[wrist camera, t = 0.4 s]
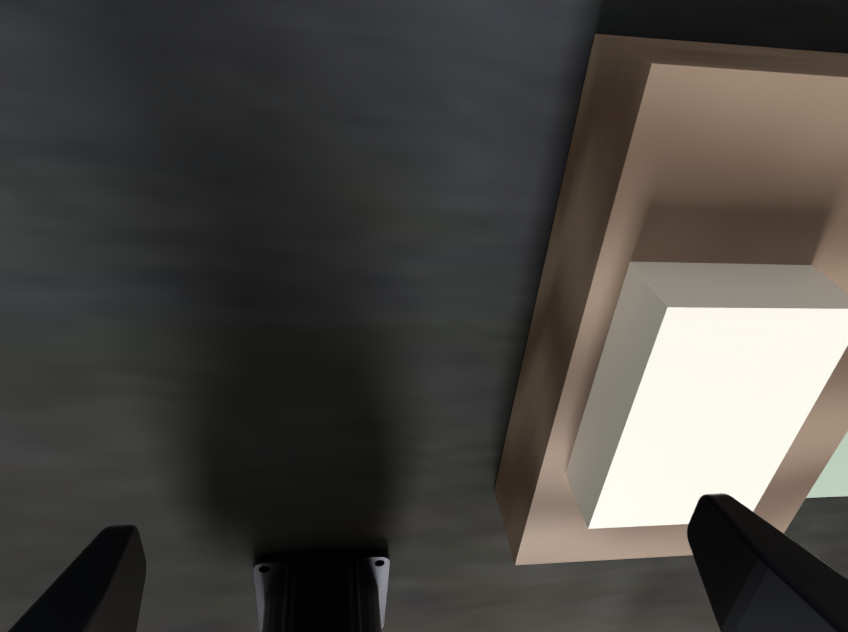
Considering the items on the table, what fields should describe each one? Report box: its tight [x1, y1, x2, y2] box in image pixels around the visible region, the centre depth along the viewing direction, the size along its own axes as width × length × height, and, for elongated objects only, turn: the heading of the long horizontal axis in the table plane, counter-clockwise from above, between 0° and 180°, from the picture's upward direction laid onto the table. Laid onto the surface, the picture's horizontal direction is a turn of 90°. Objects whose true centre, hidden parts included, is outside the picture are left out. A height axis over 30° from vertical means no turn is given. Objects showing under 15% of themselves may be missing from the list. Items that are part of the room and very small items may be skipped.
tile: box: [565, 262, 848, 529], centre depth 20 cm, size 9×6×2 cm, turn 175°
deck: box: [494, 34, 848, 565], centre depth 23 cm, size 20×12×4 cm, turn 175°
